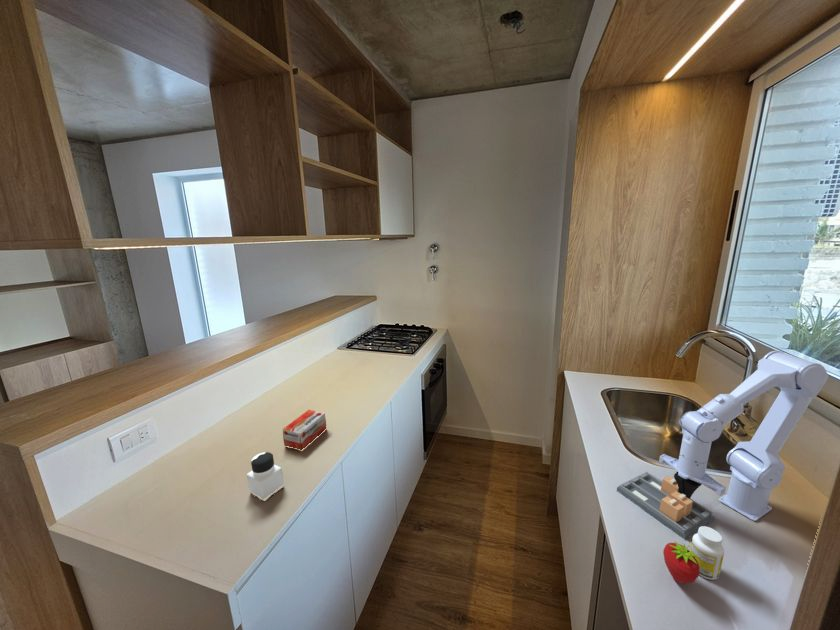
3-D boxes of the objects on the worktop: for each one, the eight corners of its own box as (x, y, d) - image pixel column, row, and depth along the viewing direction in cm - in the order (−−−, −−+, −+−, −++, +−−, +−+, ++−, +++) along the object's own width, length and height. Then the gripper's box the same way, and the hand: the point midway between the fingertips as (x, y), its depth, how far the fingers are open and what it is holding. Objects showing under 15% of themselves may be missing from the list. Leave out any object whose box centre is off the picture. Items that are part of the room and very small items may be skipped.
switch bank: (644, 476, 104) (645, 470, 103) (713, 520, 88) (715, 513, 87) (616, 490, 98) (617, 484, 98) (684, 539, 83) (686, 532, 82)
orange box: (665, 508, 90) (667, 494, 89) (681, 519, 86) (684, 504, 85) (659, 511, 89) (661, 497, 88) (675, 523, 85) (678, 508, 84)
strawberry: (683, 566, 76) (690, 531, 74) (702, 601, 69) (711, 563, 67) (654, 561, 77) (660, 526, 75) (669, 595, 70) (677, 557, 68)
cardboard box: (666, 487, 97) (668, 474, 96) (681, 497, 93) (684, 483, 92) (660, 490, 96) (662, 477, 95) (675, 500, 92) (678, 486, 91)
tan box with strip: (673, 503, 92) (676, 489, 90) (690, 513, 88) (693, 499, 87) (668, 506, 90) (670, 492, 89) (684, 517, 87) (687, 502, 86)
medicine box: (302, 453, 120) (299, 433, 118) (284, 448, 123) (281, 429, 121) (327, 430, 133) (325, 412, 131) (311, 426, 136) (308, 408, 134)
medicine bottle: (284, 487, 103) (279, 453, 101) (264, 503, 98) (258, 467, 95) (270, 479, 107) (265, 446, 104) (249, 494, 101) (243, 459, 98)
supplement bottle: (704, 556, 78) (711, 522, 76) (725, 580, 73) (734, 544, 71) (681, 558, 78) (688, 523, 76) (701, 581, 73) (709, 545, 70)
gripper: (655, 445, 93) (648, 486, 96) (718, 478, 80) (708, 524, 83) (670, 438, 96) (663, 478, 99) (734, 469, 83) (723, 514, 86)
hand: (685, 499), depth 91 cm, fingers closed
